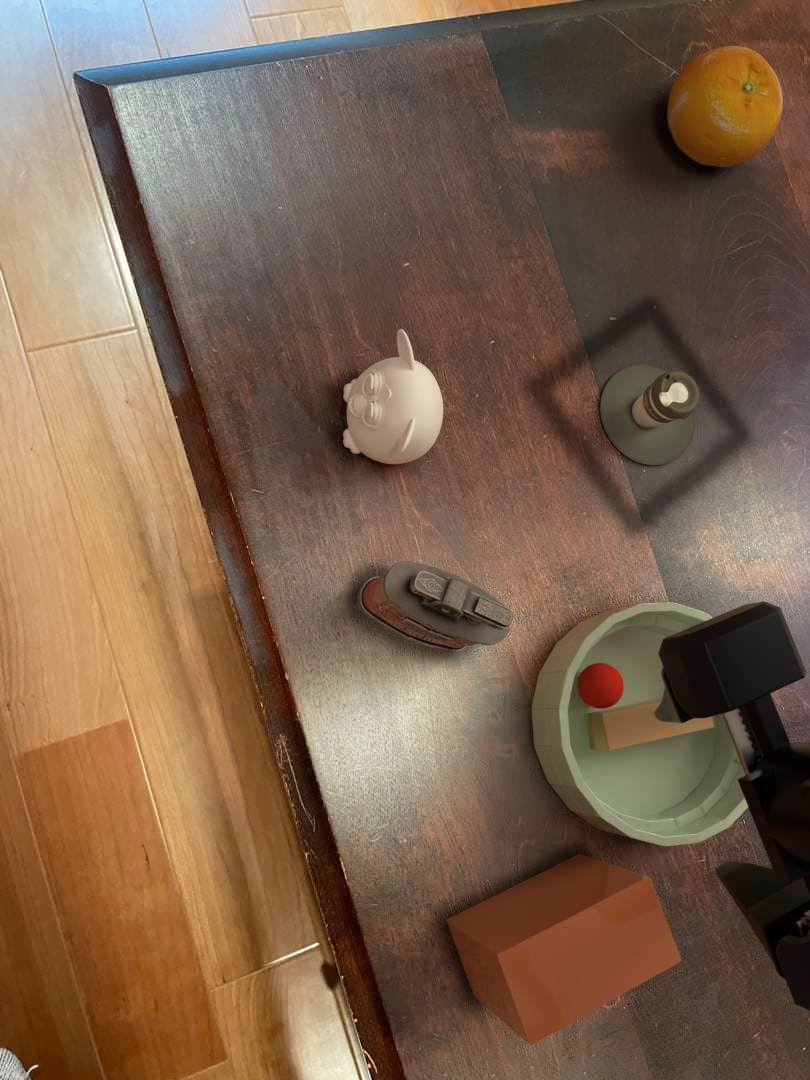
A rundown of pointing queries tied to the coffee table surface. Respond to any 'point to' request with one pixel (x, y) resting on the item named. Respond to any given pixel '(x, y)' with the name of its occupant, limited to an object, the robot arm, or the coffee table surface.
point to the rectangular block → (563, 944)
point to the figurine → (393, 408)
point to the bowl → (641, 770)
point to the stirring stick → (635, 726)
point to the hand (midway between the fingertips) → (692, 789)
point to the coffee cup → (649, 413)
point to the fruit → (725, 106)
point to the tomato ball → (600, 685)
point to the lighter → (434, 608)
